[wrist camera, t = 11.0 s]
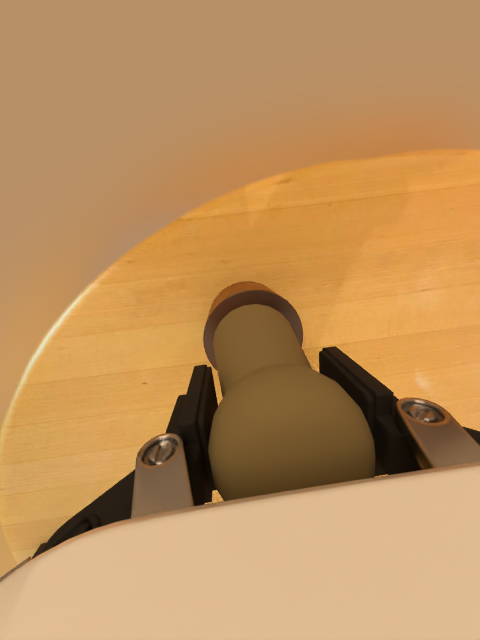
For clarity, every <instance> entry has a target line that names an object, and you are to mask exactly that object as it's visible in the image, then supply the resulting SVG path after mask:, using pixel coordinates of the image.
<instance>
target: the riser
mask: <svg viewBox="0 0 480 640" xmlns="http://www.w3.org/2000/svg"><path fill="white" fill-rule="evenodd" d="M252 304H260V305H265V306H270V307H271V308H273V309H275V310H277V311H279V312H280V313H281V314H282V315H283V316H284V317H285V318H286V319H287V320H288V321H289V323H290V325H291V327H292V329H293V331H294V333H295V335H296V337H297V339H298V341H299V343H300V345H301V347H302V342H303V328H302V324H301V320H300V318H299V316H298V314H297V312H296V310H295V309H294V308H293V306H292V305H291V304H290V303H289V302H288V301H286V300H285V299H284V298H282V297H281V296H279V295H278V294H276V293H275V292H274V291H272V290H271V289H269V288H268V287H266V286H264V285H262V284H259V283H255V282H240V283H236V284H233V285H231V286H229V287H227V288H226V289H224V290H223V291H222V292H221V293H220V294H219V295H218V296H217V297H216V299H215V300H214V302H213V304H212V306H211V309H210V312H209V316H208V319H207V322H206V325H205V329H204V338H203V340H204V348H205V352H206V355H207V357H208V359H209V361H210V363H211V364H212V365H213V367H214V368H215V369H216V370H217V365H216V360H215V355H214V349H213V339H214V334H215V330H216V329H217V327H218V325H219V323H220V321H221V320H222V319H223V318H224V317H225V316H226V315H227V314H228V313H230V312H231V311H232V310H235V309H237V308H239V307H241V306H244V305H252ZM217 371H218V370H217Z"/></svg>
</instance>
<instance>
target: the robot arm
mask: <svg viewBox="0 0 480 640" xmlns="http://www.w3.org/2000/svg"><path fill="white" fill-rule="evenodd" d="M319 370H320V373H321V374H322V375H324V376H326V377H328V378H330V379H332V380H334V381H336V382H337V383H338V384H339V385H340V386H341V387H342V388H343V389H344V390H345V391H346V393H347V394H348V395H349V396H350V397H351V398H352V399H353V400H354V401H355V403H356V404H357V405H358V406H359V407H360V408H361V410H362V412H363V414H364V416H365V419H366V421H367V423H368V426H369V428H370V431H371V434H372V437H373V439H374V444H375V476H380V475H386V474H388V475H386V476H380V477H373V478H367V479H361V480H354V481H348V482H341V483H335V484H328V485H322V486H316V487H310V488H303V489H297V490H291V491H284V492H278V493H272V494H266V495H260V496H254V497H248V498H241V499H235V500H229V501H223V502H217V503H211V504H205V503H208V502H212V491H213V490H217V489H216V487H215V485H214V480H213V475H212V470H211V464H210V459H209V454H208V446H209V437H210V431H211V426H212V421H213V416H214V414H215V412H216V410H217V408H218V403H217V397H216V392H215V386H214V380H213V375H212V369H211V367H207V365H199V366H195V367H194V370H193V373H192V377H191V380H190V384H189V387H188V391H187V394H186V395H180V396H178V399H177V401H176V404H175V407H174V410H173V413H172V416H171V419H170V422H169V425H168V427H167V430H166V433H165V434H161V435H158V436H156V437H154V438H152V439H151V440H149V441H148V442H146V443H145V444H144V446H143V447H142V448H141V449H140V451H139V452H138V455H137V458H136V467H135V470H134V471H133V472H131V473H130V474H129V475H127V476H126V477H125V478H123V479H122V480H121V481H119V482H118V483H117V484H115V485H114V486H113V487H112V488H110V489H109V490H108V491H106V492H105V493H104V494H102V495H101V496H100V497H98V498H97V499H96V500H94V501H93V502H92V503H91V504H89V505H88V506H87V507H85V508H84V509H83V510H81V511H80V512H79V513H77V514H76V515H75V516H73V517H72V518H71V519H70V520H68V521H67V522H66V523H65V524H64V525H62V526H61V527H60V528H59V529H58V530H57V531H56V532H55V533H54V534H53V536H52V537H51V538H50V539H49V540H48V542H47V543H46V545H45V547H44V548H43V550H42V552H41V554H40V555H38V556H37V557H35V558H34V559H31V557H29V558H27V559H26V560H25V561H23V562H22V563H20V564H19V565H18V566H16V567H15V568H13V569H12V570H11V571H9V572H8V573H7V574H5V575H4V576H2V577H1V578H0V640H480V432H479V431H476V430H473V429H469V428H466V427H462V426H461V425H460V424H459V423H458V422H457V421H456V420H455V419H454V418H453V416H452V415H451V414H450V413H449V412H448V411H447V410H445V409H444V408H443V407H441V406H439V405H438V404H436V403H433V402H431V401H428V400H424V399H420V398H403V399H400V400H399V399H397V398H396V397H395V396H394V395H393V392H392V391H391V390H390V389H388V388H387V387H386V386H385V385H383V384H382V383H381V382H380V381H378V380H377V379H376V378H375V377H373V376H372V375H371V374H369V373H368V372H367V371H366V370H364V369H363V368H362V367H361V366H359V365H358V364H357V363H356V362H354V361H353V360H352V359H351V358H349V357H348V356H347V355H346V354H344V353H343V352H342V351H341V350H339V349H338V348H337V347H335V346H334V347H327V348H323V350H322V351H320V352H319ZM204 504H205V505H204Z"/></svg>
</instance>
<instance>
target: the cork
mask: <svg viewBox="0 0 480 640" xmlns="http://www.w3.org/2000/svg"><path fill="white" fill-rule="evenodd" d="M213 349H214V355H215V360H216V365H217V370H218V376H219V381H220V386H221V391H222V396H223V399H222V401H221V402H220V404H219V406H218V408H217V410H216V412H215V414H214V416H213V421H212V426H211V431H210V437H209V446H208V454H209V459H210V464H211V470H212V475H213V480H214V485H215V487H216V489H217V490H218V492H219V494H220V495H221V497H222V498H223V500H224V501H229V500H235V499H241V498H248V497H254V496H260V495H266V494H272V493H278V492H284V491H291V490H297V489H303V488H310V487H316V486H322V485H328V484H335V483H341V482H348V481H354V480H361V479H367V478H373V477H375V444H374V439H373V437H372V434H371V431H370V428H369V426H368V423H367V421H366V419H365V416H364V414H363V412H362V410H361V408H360V407H359V406H358V405H357V404H356V403H355V401H354V400H353V399H352V398H351V397H350V396H349V395H348V394H347V393H346V391H345V390H344V389H343V388H342V387H341V386H340V385H339V384H338V383H337V382H336V381H334V380H332V379H330V378H328V377H326V376H324V375H322V374H321V373H319V372H317V371H315V370H313V369H312V368H311V366H310V364H309V362H308V360H307V358H306V356H305V353H304V351H303V349H302V347H301V345H300V343H299V341H298V339H297V337H296V335H295V333H294V331H293V329H292V327H291V325H290V323H289V321H288V320H287V319H286V318H285V317H284V316H283V315H282V314H281V313H280V312H279V311H277V310H275V309H273V308H271V307H270V306H265V305H260V304H252V305H244V306H241V307H239V308H237V309H235V310H232V311H231V312H230V313H228V314H227V315H226V316H225V317H224V318H223V319H222V320H221V321H220V323H219V325H218V327H217V329H216V330H215V334H214V339H213Z"/></svg>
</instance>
